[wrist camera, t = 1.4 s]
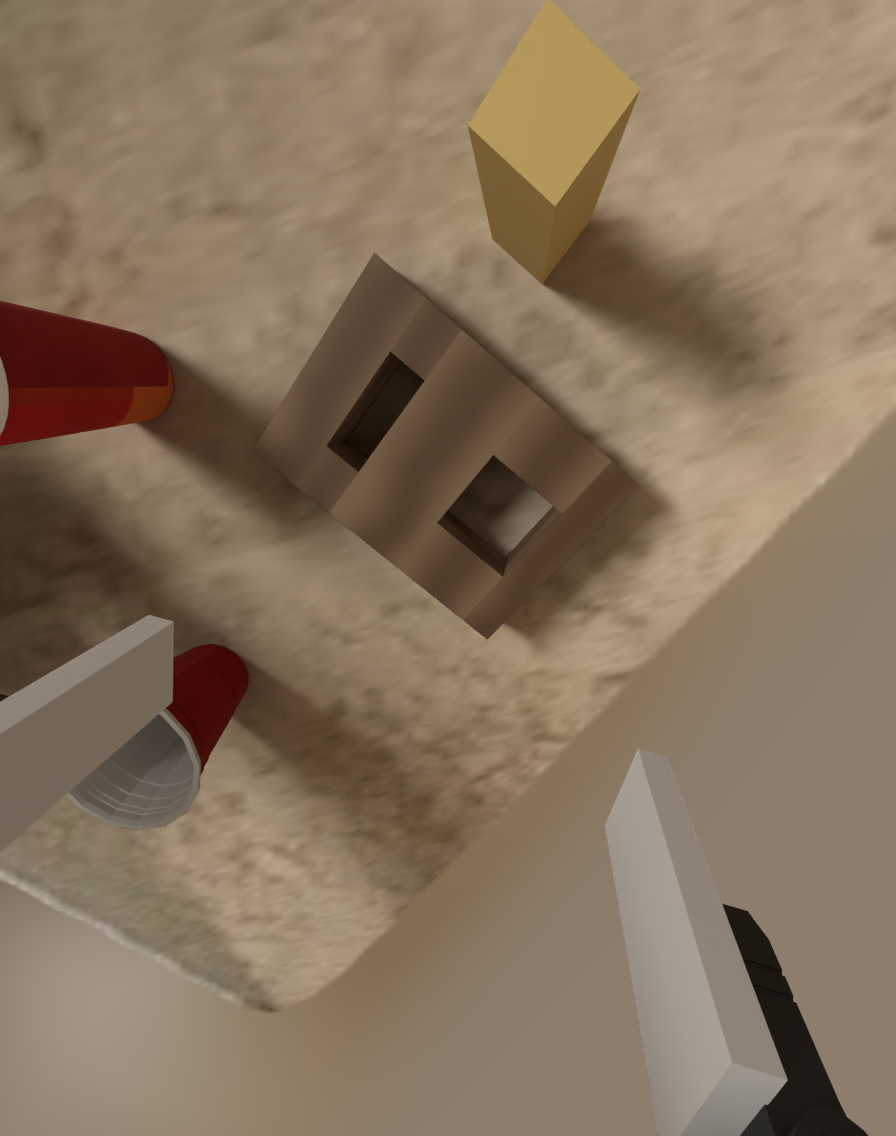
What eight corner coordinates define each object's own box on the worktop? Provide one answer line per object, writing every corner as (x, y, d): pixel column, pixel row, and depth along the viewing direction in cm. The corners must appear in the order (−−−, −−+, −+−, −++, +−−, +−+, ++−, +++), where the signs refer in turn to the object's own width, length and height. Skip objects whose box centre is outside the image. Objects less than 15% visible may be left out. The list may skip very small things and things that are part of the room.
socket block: (279, 444, 37) (251, 451, 33) (392, 268, 32) (374, 252, 28) (491, 615, 39) (487, 639, 35) (626, 474, 34) (639, 484, 30)
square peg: (492, 238, 30) (467, 124, 17) (537, 174, 29) (547, -2, 16) (542, 284, 31) (555, 206, 18) (589, 222, 29) (639, 89, 16)
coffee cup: (79, 303, 35) (-214, 245, 21) (190, 327, 35) (-36, 285, 21) (86, 424, 38) (-168, 445, 24) (188, 449, 38) (-12, 484, 24)
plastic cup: (303, 675, 43) (224, 776, 32) (234, 744, 47) (143, 856, 35) (202, 589, 42) (83, 663, 30) (140, 667, 45) (13, 758, 34)
